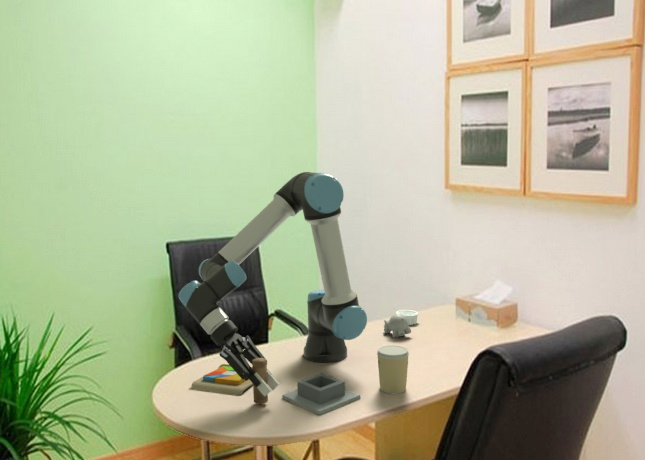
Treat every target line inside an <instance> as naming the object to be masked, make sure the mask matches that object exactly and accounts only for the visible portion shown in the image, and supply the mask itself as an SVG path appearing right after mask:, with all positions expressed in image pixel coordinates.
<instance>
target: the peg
mask: <svg viewBox="0 0 645 460" xmlns="http://www.w3.org/2000/svg"><path fill="white" fill-rule="evenodd" d="M266 360H267V359H266V357H265V358H256V359H253V360H252V364H251V367H252V370H253V371H254V374H255V373H256V372H257V373H258V374H259V376H260V377H261V378H262V379H263V380H264V382H265V383H266V384H267V369H268V366H267V365H268V361H267V362H266ZM267 385H268V384H267ZM252 389H253V393H252V394H253V403H254V404H256V405H262V404H266V403H268V402H269V399H268V395H269V393H268V394H267V395H266V396H265V397H264V395H263V394H262V393H261V392H260V391H259V389H258V388H257V387H255V386H254V384H253V385H252Z"/></svg>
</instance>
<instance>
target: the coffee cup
mask: <svg viewBox="0 0 645 460" xmlns="http://www.w3.org/2000/svg"><path fill="white" fill-rule="evenodd" d="M376 354H377V365H378V366H377V367H378V377H379V378H378V379H379V381H378V382H379V389H380V391H381V392H383V393H384V394H385V393H386V394H390V395H393V394H394V395H395V394H402V393H404V392H406V390H407V382H408V379H407V378H408V367H409V355H410V352H409V350H408V349H407V348H406V347H404V346H401V345H394V344H393V345H384V346H381V347H379V348H378V350H377V352H376Z"/></svg>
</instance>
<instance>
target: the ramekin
mask: <svg viewBox="0 0 645 460" xmlns="http://www.w3.org/2000/svg"><path fill="white" fill-rule="evenodd" d="M395 314H402V315H404V316H405V317H406V318H407V320H408V326H414V325H417V322H418V316H419V312H418V311H416V310H411V309H401V310H397V311H396V312H395ZM413 324H414V325H413Z"/></svg>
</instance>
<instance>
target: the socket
mask: <svg viewBox="0 0 645 460" xmlns="http://www.w3.org/2000/svg"><path fill="white" fill-rule="evenodd" d="M296 382H297V384H296V385H297V389H295V390H291V391H290V392H289V391H288V392H286V393H284V394H281V395H282V396H281V397H282V399H283V400H285V401H287V402H290V403H292V404H295V405H297V406H299V407H302V408H304V409H305V410H308V411H309V412H312V413H314V414H317V415H318V416H320V415H323V414H325V413H328V412H330V411H333V410H336V409H337V408H341V407H343V406H345V405H347V404H351V403H352V402H355V401H357V400H359V399H361V394H358V393H356V392H354V391H352V390H349V389H346V386H345V385H346V384H345V383H346V382H345V381H344V380H342V379H338V378H336V377H334V376H331V375H328V374H326V373H323V372H320V373H318V374H316V375H312V376H310V377H306V378H304V379H301V380H299V381H296Z"/></svg>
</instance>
